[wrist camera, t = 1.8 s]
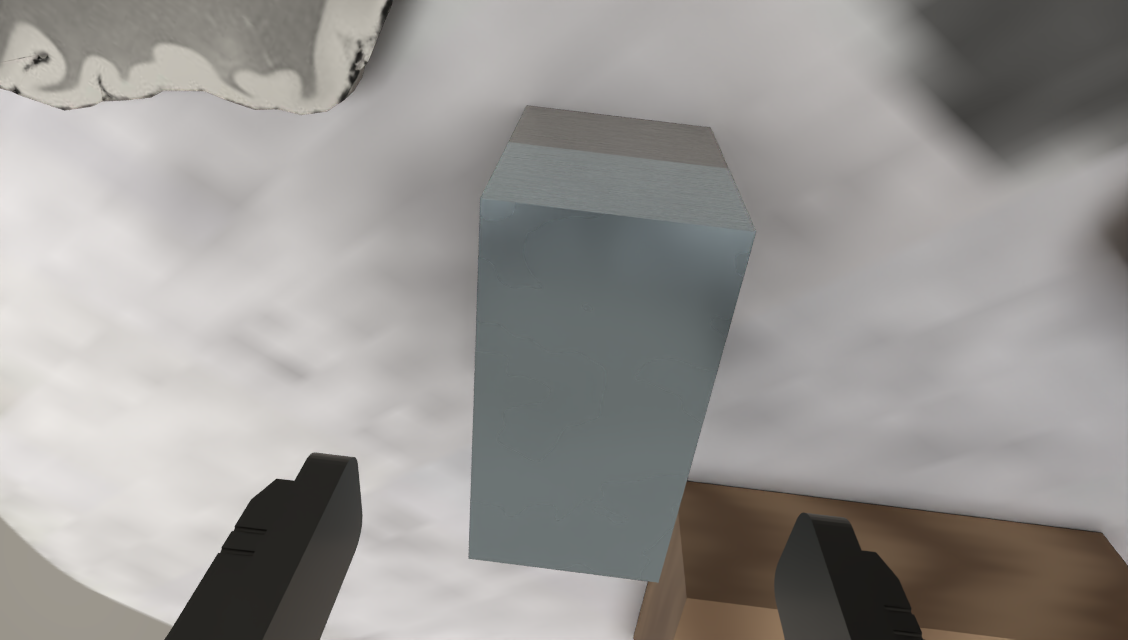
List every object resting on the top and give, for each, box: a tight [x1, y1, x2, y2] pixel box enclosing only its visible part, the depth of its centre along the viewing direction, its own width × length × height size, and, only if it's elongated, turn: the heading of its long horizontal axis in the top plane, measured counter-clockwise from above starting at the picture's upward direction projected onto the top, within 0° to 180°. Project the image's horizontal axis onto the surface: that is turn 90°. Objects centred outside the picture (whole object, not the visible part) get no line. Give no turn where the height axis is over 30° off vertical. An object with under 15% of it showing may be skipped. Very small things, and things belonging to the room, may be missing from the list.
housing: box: [469, 106, 756, 583], centre depth 17 cm, size 5×10×7 cm, turn 174°
